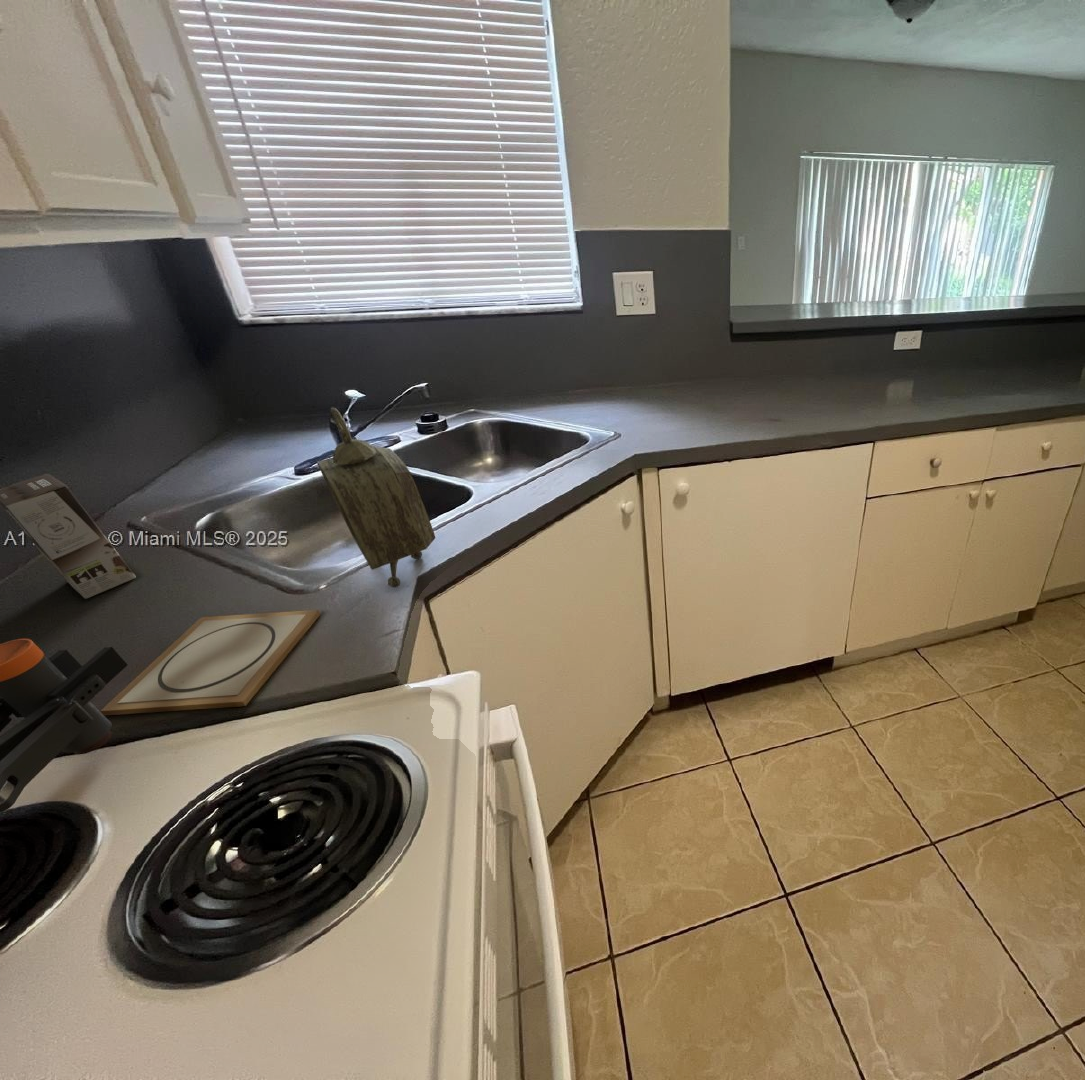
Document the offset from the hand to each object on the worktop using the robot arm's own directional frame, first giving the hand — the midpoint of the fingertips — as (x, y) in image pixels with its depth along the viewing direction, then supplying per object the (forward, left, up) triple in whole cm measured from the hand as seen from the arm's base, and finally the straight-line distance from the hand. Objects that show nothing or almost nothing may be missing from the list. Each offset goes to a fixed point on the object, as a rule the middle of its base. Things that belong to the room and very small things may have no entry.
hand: (93, 658), depth 60 cm
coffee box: (-28, +28, -9) cm, 40 cm away
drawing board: (+4, +8, -8) cm, 12 cm away
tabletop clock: (+19, +27, -9) cm, 34 cm away
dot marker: (0, -5, -7) cm, 9 cm away
